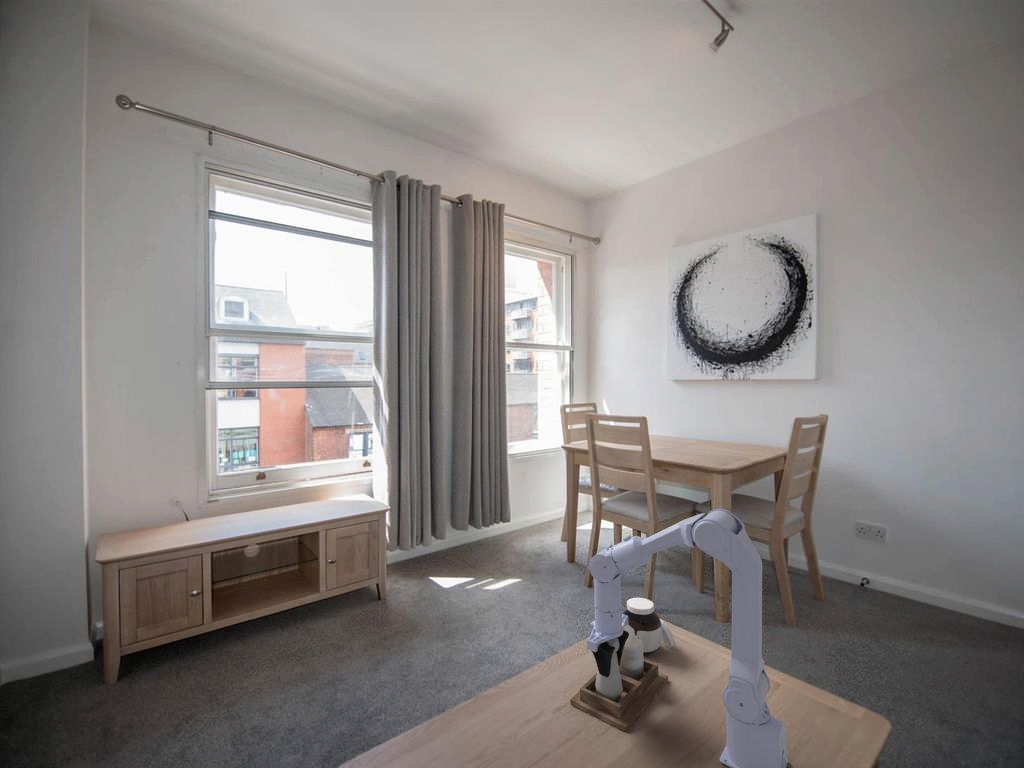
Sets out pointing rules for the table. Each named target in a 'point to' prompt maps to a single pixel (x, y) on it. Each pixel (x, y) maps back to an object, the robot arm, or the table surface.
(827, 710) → the table surface
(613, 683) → the salt shaker
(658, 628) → the spread jar
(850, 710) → the table surface
